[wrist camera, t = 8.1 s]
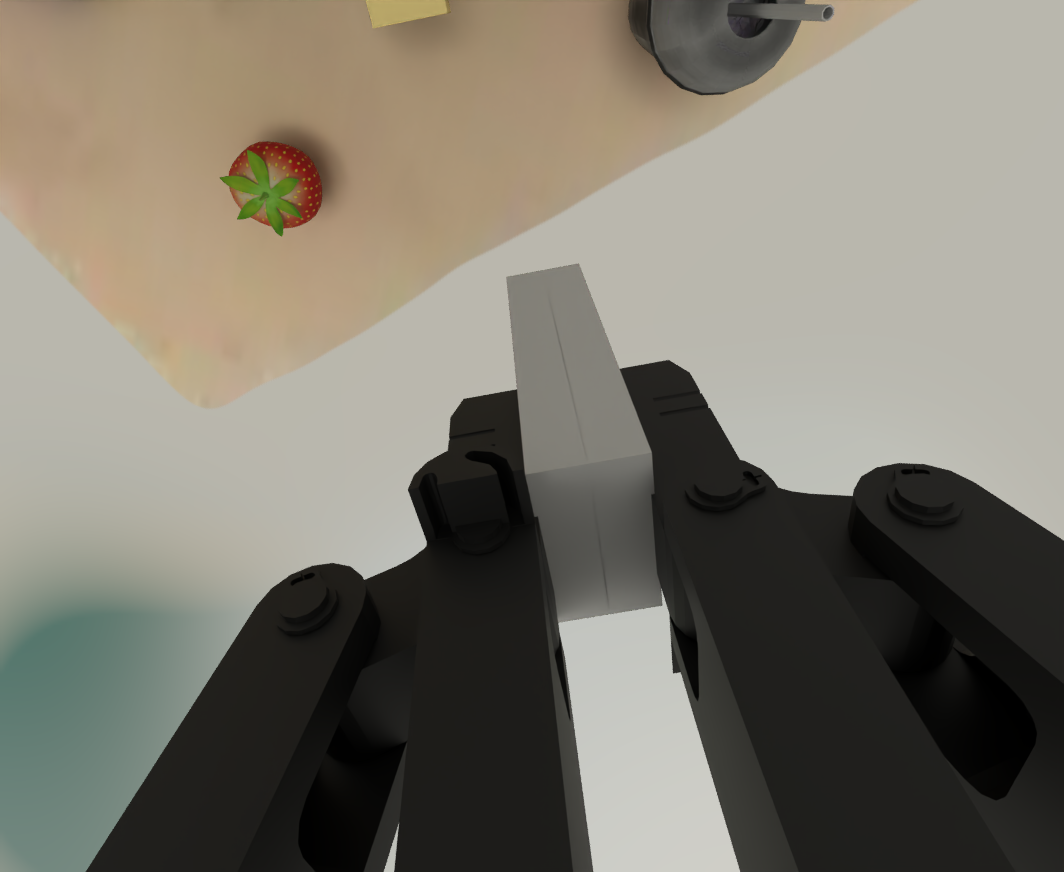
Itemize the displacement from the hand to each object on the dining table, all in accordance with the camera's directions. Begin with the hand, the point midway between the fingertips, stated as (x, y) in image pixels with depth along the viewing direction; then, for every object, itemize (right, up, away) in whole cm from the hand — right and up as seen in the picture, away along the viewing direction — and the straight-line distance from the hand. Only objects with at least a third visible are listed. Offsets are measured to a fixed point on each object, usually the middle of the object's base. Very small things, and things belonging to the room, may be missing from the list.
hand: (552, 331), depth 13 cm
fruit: (-17, +16, +30) cm, 38 cm away
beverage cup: (+8, +25, +26) cm, 37 cm away
